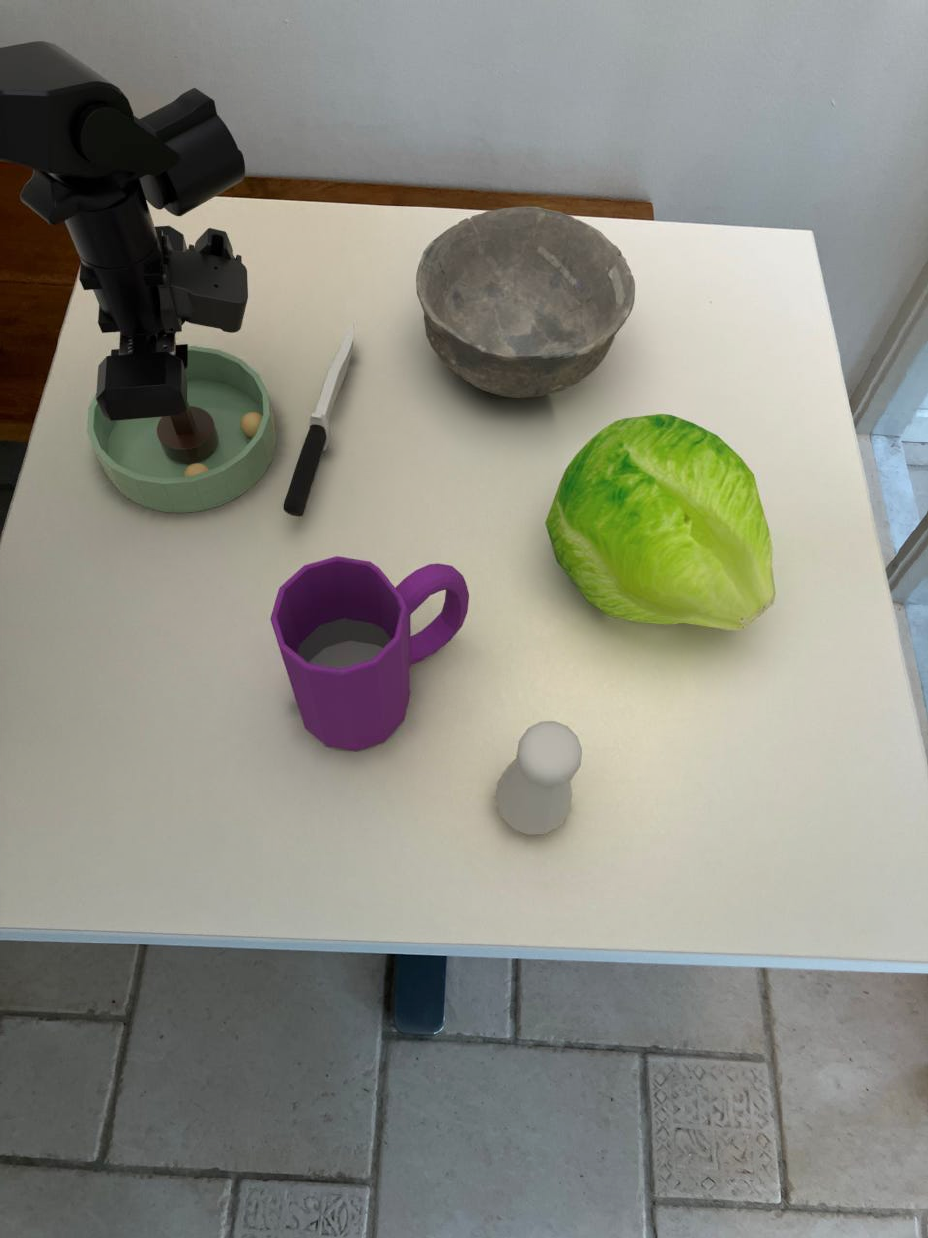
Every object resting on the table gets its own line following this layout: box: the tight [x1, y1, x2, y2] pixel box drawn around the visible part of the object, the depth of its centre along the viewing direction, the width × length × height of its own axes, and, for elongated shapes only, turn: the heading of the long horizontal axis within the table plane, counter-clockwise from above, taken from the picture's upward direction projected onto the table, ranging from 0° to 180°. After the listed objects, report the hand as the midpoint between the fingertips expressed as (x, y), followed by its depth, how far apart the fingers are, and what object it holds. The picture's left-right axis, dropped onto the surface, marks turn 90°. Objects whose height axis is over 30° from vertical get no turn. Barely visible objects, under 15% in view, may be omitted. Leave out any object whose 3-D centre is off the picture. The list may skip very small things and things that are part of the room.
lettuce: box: [544, 413, 776, 631], centre depth 73 cm, size 17×20×15 cm
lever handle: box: [157, 401, 218, 463], centre depth 79 cm, size 5×5×11 cm
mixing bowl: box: [86, 345, 277, 514], centre depth 82 cm, size 16×16×4 cm
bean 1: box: [184, 463, 209, 477], centre depth 81 cm, size 2×2×2 cm
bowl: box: [415, 206, 636, 399], centre depth 87 cm, size 21×21×10 cm
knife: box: [282, 322, 355, 517], centre depth 84 cm, size 25×2×5 cm, turn 171°
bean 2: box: [240, 412, 263, 438], centre depth 84 cm, size 2×2×2 cm
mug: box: [270, 555, 470, 752], centre depth 67 cm, size 9×16×15 cm, turn 126°
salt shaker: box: [494, 720, 583, 836], centre depth 63 cm, size 6×6×13 cm
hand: (171, 393), depth 78 cm, fingers closed on lever handle
